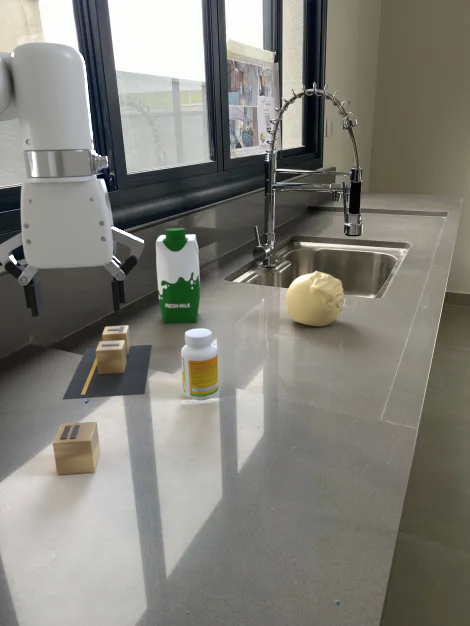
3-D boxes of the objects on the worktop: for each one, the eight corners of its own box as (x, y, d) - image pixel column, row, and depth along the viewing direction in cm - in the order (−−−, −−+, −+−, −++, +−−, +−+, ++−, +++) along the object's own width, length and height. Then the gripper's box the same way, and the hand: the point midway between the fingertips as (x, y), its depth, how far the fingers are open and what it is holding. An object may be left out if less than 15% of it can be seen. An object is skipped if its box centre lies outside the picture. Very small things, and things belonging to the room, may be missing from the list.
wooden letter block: (98, 374, 81) (95, 350, 80) (102, 364, 85) (99, 340, 84) (124, 372, 82) (121, 348, 80) (126, 362, 86) (124, 339, 84)
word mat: (62, 401, 73) (62, 398, 73) (86, 350, 92) (86, 347, 92) (144, 396, 74) (144, 393, 74) (151, 346, 93) (151, 344, 93)
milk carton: (158, 327, 104) (151, 231, 97) (163, 313, 112) (157, 224, 106) (200, 325, 104) (196, 230, 98) (202, 312, 112) (198, 223, 106)
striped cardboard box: (57, 475, 57) (52, 442, 55) (65, 454, 61) (60, 423, 59) (94, 472, 57) (90, 439, 56) (100, 451, 61) (96, 420, 60)
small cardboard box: (104, 356, 88) (101, 333, 87) (107, 347, 92) (105, 325, 91) (128, 355, 89) (126, 332, 87) (130, 346, 93) (128, 324, 91)
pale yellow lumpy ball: (337, 334, 98) (339, 281, 94) (278, 327, 102) (279, 276, 99) (347, 316, 108) (349, 268, 104) (293, 311, 112) (294, 264, 109)
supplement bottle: (226, 391, 75) (224, 331, 72) (200, 404, 72) (197, 342, 69) (201, 381, 79) (199, 323, 76) (175, 393, 75) (172, 333, 72)
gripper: (140, 165, 61) (150, 299, 66) (-8, 168, 59) (14, 306, 64) (136, 167, 54) (148, 316, 59) (-32, 170, 52) (-5, 325, 57)
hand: (78, 311), depth 62 cm, fingers open, 9 cm apart
